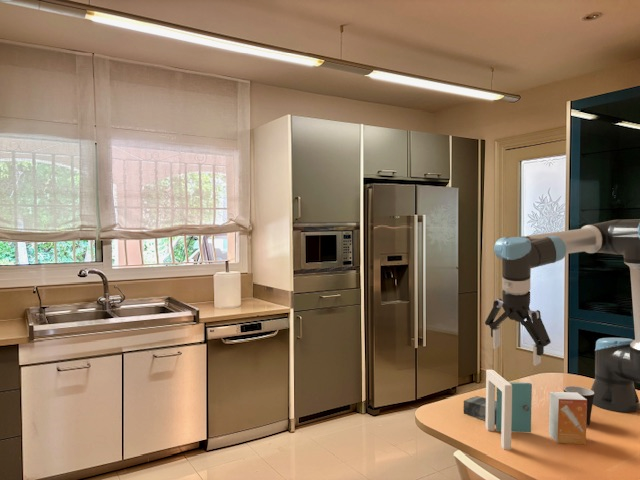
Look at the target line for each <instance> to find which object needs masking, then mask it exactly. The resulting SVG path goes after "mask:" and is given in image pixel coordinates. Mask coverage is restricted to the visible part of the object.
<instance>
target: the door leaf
mask: <svg viewBox="0 0 640 480" xmlns="http://www.w3.org/2000/svg"><path fill="white" fill-rule="evenodd" d="M508 382H509V383H510V384H511V385H512V423H511V433H532V402H533V401H532V399H533V395H532V394H533V392H532V390H533V383H531V382H511V381H508ZM496 401H497V405H496V425H495V431H497V432H501V421H502V391H501V390H499V389H498V388H497V387H496Z"/></svg>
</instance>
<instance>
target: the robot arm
mask: <svg viewBox="0 0 640 480" xmlns="http://www.w3.org/2000/svg"><path fill="white" fill-rule="evenodd" d="M493 247H494V249H493V250H494V251H493V253H494V254H495V256H496V257H497V259H499V260H501V268H502V271H501V273H502V274H501V275H502V276H501V277H502V280H501V281H502V284H501V285H502V286H501V287H502V291H501V292H502V293H501V294H502V298H498V299H496V300H494V301H493V305H492V306H493V307H492V309H491V311H490V312H489V313H488V316H487V318H486V320H485V322H484V324H485V325H486V326H489V329H490V335H491V338H492V349H494V350H496V349H499V348H500V347H501V327H500V325H501V324H502V323H503V322H504V321H505V320H506V319H508V318H509V320H512V321H515V322H518V323H520V325H522V326H523V327H524V328H525V330H526V331H527V333H528V335H529V336H530V337H531V339H532V340H533V342H534V344H533V346H532V347H533V348H532V351H533V352H532V357H533V358H532V365H533V366H534V367H536V366H538V365H539V364H541V363H542V355H544V354H545V353H544V352H545V350H544V349H545V347H547V346H548V345H549V344H551V342H552V340H551V339H550V336H549V334H548V331H547V330H546V327H545V324H544V322H543V320H542V318H541V317H542V316H541V311H540V310H539V309H537V310H531V308H530V303H531V274H532V273H531V272H532V269H534V268H537V267H541V266H542V267H543V266H546V265H549V264H555V263H556V262H557V263H558V262H559V261H562V260H563V259H564V258H565V257H566V255H568V254H575V253H582V252H585V253H587V254H595V253H600V254H601V253H603V254H612V255H618V256H619V255H622V256H623V263H624V264H625V265H627V266H628V267H629V271H630V273H629V274H630V284H631V285H630V287H631V299H632V301H631V302H632V313H633V327H634V328H633V329H634V339H633V338H628V337H627V338H626V337H602V338H598V339H597V340H596V341H595V349H594V355H595V356H594V380H593V383H592V386H591V388H590V390H592V391H593V392H594V399H593V406H596V407H598V408H601V409H604V410H605V409H606V410H609V411H614V412H622V413H625V412H626V413H632V412H633V413H634V412H637V411H639V410H640V400H639V396H638V393H637V391H636V388H635V383H638V384H640V218H639V219H638V218H637V219H635V218H634V219H631V218H630V219H612V220H608V221H603V222H598V223H597V222H596V223H593V224H586V225H583V226H581V228H578V229H568V230H562V231H556V232H555V231H554V232H546V233H545V232H544V233H538V234H530V235H522V236H506V237H505V236H504V237H501V238H498V239H497V240H496V241H495V243H494V246H493ZM501 308H502V309H503V311H504V312H503V313H501V315H500V316H499V317H498V318H497V319H496V317H497V316H498V314H499V311H501Z"/></svg>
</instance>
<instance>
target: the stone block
mask: <svg viewBox="0 0 640 480" xmlns="http://www.w3.org/2000/svg"><path fill="white" fill-rule="evenodd" d="M496 405H497V400H495V420H494V426H496ZM463 414H464V415H466V416H470V417H472V418H475V419H479V420H483V421H485V422H486V397H483V396H479V395H475V396H473V397H470V398H467V399H464V400H463Z"/></svg>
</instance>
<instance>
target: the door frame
mask: <svg viewBox="0 0 640 480" xmlns="http://www.w3.org/2000/svg"><path fill="white" fill-rule="evenodd" d="M485 373H486V374H485V375H486V376H485V378H486V379H485V398H486V421H485V427H484V428H485V430H487V431H495V424H494V420H495V401H496V389H497V388H498V389H499V390H501V391H502V421H501V431H500V436H501V437H500V447H501V448H502V449H503V450H504V451H505V450H506V451H507V450H508V451H509V450H510V451H511V450H512V432H511V423H512V385H511V384H510V383H509V382H510V381H507V380H506V378H504V377H503V376H501V375H500V374H499V373H498V372H497V371H495V370H494V369H486V371H485Z"/></svg>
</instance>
